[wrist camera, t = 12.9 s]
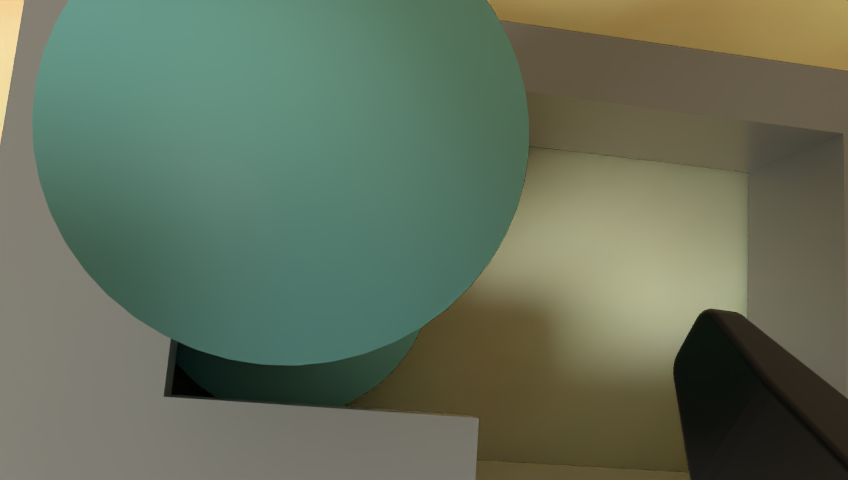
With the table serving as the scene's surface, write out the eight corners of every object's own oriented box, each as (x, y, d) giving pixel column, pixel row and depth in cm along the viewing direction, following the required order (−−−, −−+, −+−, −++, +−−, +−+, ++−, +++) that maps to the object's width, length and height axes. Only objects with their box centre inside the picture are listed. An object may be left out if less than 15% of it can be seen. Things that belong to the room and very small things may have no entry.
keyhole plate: (798, 126, 22) (901, 79, 18) (799, 539, 20) (913, 579, 17) (82, 30, 19) (32, -49, 15) (9, 503, 17) (-66, 541, 14)
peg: (443, 386, 19) (729, 438, 7) (173, 435, 18) (-101, 611, 6) (401, 133, 20) (584, -248, 7) (139, 165, 19) (-173, -224, 6)
